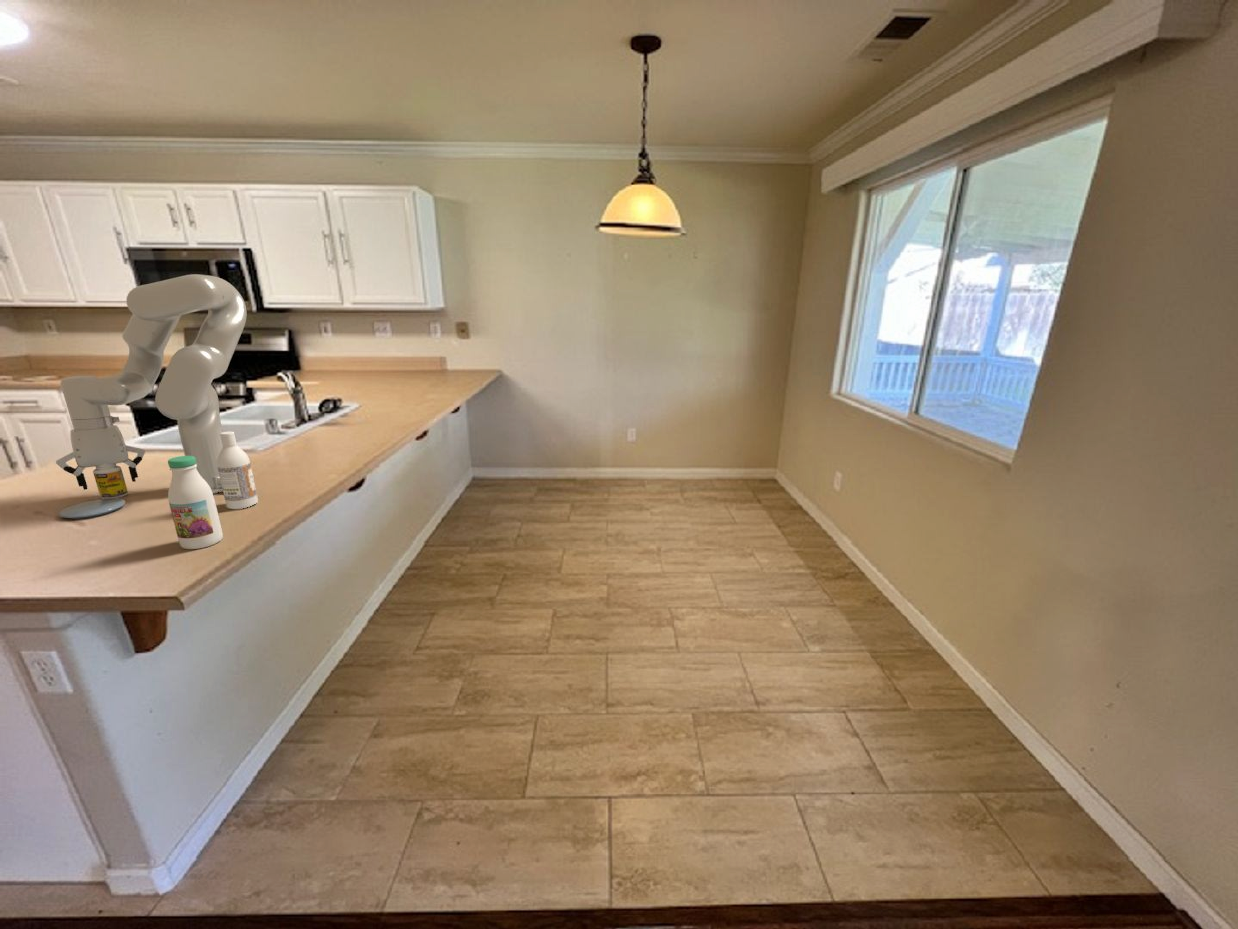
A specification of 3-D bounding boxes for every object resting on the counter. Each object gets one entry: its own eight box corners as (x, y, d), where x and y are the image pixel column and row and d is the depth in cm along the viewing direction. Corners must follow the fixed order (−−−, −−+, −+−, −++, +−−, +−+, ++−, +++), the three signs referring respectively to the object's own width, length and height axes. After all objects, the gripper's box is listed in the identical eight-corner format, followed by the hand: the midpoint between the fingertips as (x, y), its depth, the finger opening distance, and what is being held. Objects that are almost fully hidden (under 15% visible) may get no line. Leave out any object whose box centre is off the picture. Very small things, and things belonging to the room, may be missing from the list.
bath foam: (256, 507, 136) (240, 434, 130) (224, 511, 133) (206, 437, 127) (260, 499, 142) (245, 428, 136) (230, 502, 139) (213, 430, 133)
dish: (137, 505, 137) (136, 501, 136) (82, 523, 125) (81, 518, 125) (105, 500, 139) (103, 496, 139) (48, 517, 128) (46, 512, 128)
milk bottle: (196, 535, 120) (175, 453, 114) (231, 534, 120) (212, 452, 114) (171, 550, 112) (147, 463, 106) (209, 549, 113) (187, 463, 107)
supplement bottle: (98, 501, 139) (87, 465, 136) (103, 495, 143) (93, 460, 140) (126, 497, 142) (116, 462, 139) (130, 491, 146) (120, 457, 143)
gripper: (135, 416, 145) (150, 474, 150) (45, 425, 133) (65, 488, 138) (137, 421, 140) (153, 481, 145) (44, 430, 128) (64, 495, 133)
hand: (110, 484), depth 141 cm, fingers open, 9 cm apart
